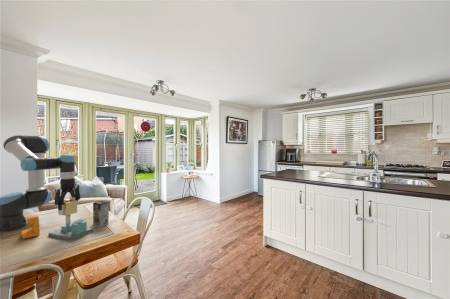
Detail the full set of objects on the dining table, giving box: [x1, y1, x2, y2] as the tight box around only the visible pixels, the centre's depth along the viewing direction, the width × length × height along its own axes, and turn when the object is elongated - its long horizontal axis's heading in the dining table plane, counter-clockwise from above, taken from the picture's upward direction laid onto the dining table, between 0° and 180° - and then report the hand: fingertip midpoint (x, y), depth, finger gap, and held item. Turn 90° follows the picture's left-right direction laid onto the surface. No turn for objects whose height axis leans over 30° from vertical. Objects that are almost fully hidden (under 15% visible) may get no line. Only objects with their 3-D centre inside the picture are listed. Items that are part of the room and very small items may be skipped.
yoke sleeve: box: [57, 196, 78, 217], centre depth 129 cm, size 7×7×10 cm
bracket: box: [21, 214, 41, 239], centre depth 125 cm, size 11×7×12 cm, turn 51°
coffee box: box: [92, 200, 110, 227], centre depth 144 cm, size 9×6×16 cm
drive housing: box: [48, 214, 94, 242], centre depth 128 cm, size 20×14×12 cm
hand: (68, 212), depth 129 cm, fingers closed on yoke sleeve, 7 cm apart
